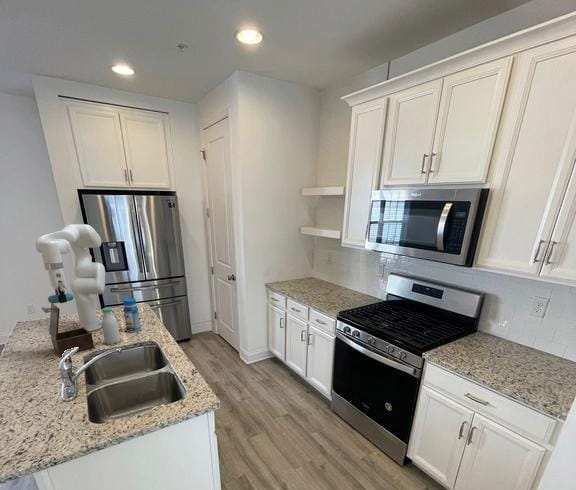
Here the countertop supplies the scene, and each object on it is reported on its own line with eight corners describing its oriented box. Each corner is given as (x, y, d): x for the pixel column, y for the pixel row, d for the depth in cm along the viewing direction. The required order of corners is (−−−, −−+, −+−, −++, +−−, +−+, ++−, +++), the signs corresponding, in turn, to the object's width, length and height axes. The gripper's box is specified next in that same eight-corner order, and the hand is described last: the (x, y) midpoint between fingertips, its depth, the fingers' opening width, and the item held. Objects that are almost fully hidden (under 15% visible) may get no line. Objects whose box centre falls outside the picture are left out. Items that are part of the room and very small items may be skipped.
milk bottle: (122, 341, 178) (117, 308, 171) (108, 345, 172) (101, 311, 166) (117, 337, 183) (111, 305, 176) (103, 341, 177) (96, 308, 171)
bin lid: (52, 303, 160) (40, 302, 156) (59, 308, 152) (46, 308, 148) (51, 333, 163) (38, 334, 159) (57, 340, 155) (44, 341, 151)
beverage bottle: (142, 330, 194) (138, 300, 187) (127, 333, 190) (122, 302, 183) (139, 326, 201) (135, 296, 194) (125, 328, 196) (120, 298, 189)
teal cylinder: (73, 299, 164) (71, 291, 163) (75, 300, 162) (73, 293, 161) (47, 303, 157) (46, 295, 155) (49, 304, 154) (48, 297, 153)
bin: (86, 341, 177) (83, 327, 174) (94, 348, 169) (91, 333, 166) (54, 349, 166) (50, 334, 163) (60, 357, 158) (56, 341, 155)
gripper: (67, 267, 151) (75, 303, 157) (58, 263, 161) (66, 297, 167) (49, 269, 145) (57, 306, 151) (40, 264, 156) (49, 299, 162)
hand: (61, 301), depth 159 cm, fingers closed on teal cylinder, 4 cm apart
